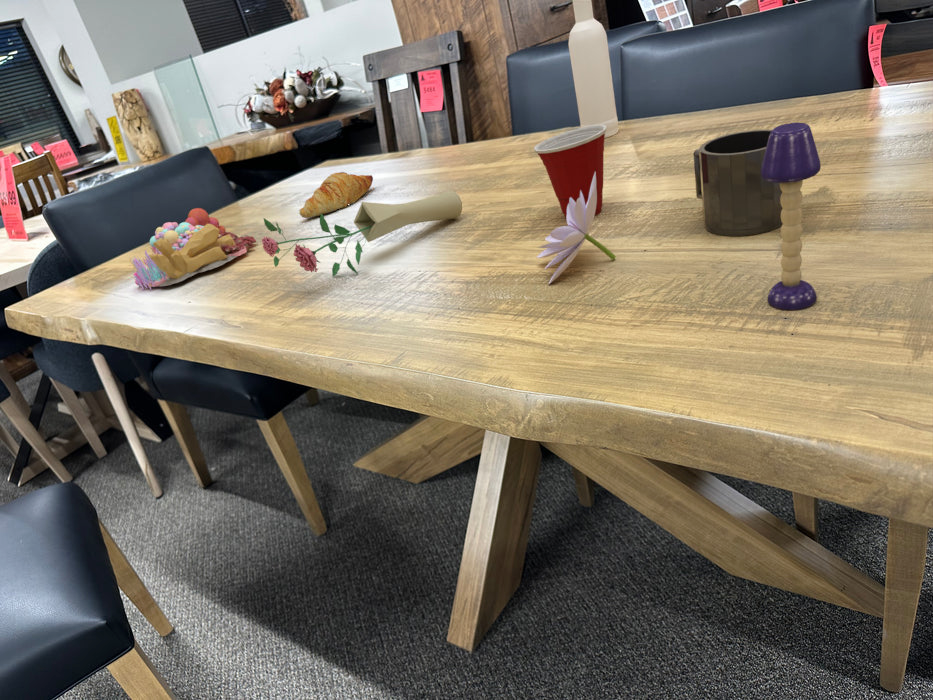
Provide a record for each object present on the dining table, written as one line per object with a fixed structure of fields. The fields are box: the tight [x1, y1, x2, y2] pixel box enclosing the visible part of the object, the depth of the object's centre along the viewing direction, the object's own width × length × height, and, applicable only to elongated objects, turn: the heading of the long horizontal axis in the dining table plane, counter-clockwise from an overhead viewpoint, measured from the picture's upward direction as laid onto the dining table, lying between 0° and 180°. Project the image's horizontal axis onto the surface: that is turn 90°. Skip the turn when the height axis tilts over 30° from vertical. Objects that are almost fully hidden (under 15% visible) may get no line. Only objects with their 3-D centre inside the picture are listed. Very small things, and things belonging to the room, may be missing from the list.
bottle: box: [568, 0, 620, 139], centre depth 133 cm, size 8×8×30 cm
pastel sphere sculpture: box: [129, 207, 257, 291], centre depth 125 cm, size 25×24×9 cm
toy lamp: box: [761, 122, 822, 311], centre depth 57 cm, size 5×5×17 cm
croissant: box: [298, 171, 374, 219], centre depth 141 cm, size 21×10×8 cm, turn 141°
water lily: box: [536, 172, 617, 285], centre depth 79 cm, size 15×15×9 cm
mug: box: [692, 128, 783, 237], centre depth 79 cm, size 13×10×10 cm
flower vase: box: [261, 190, 463, 277], centre depth 101 cm, size 12×12×35 cm
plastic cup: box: [533, 125, 607, 218], centre depth 95 cm, size 11×11×12 cm
